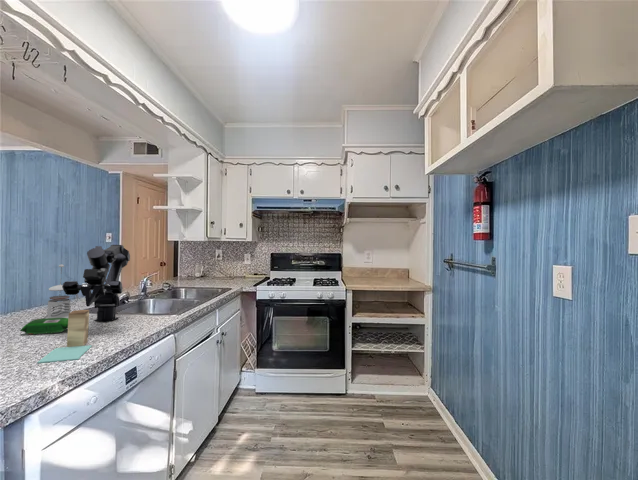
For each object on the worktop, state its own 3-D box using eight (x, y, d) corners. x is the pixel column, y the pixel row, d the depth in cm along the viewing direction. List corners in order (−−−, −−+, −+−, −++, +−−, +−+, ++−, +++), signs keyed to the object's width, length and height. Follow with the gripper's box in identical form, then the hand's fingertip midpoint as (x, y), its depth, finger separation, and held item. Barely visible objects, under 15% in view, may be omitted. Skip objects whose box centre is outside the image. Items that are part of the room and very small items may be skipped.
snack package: (69, 333, 113) (70, 320, 113) (18, 336, 107) (19, 322, 107) (77, 328, 119) (78, 316, 119) (29, 330, 114) (30, 317, 114)
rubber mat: (56, 349, 97) (56, 347, 97) (91, 346, 101) (91, 345, 101) (37, 363, 86) (37, 362, 86) (78, 359, 90) (78, 358, 90)
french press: (40, 317, 131) (43, 263, 131) (72, 313, 141) (75, 263, 141) (48, 321, 125) (51, 265, 126) (80, 316, 135) (83, 264, 136)
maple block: (72, 343, 103) (74, 310, 103) (87, 342, 104) (89, 309, 104) (66, 347, 98) (68, 313, 98) (82, 346, 100) (84, 312, 100)
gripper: (65, 260, 110) (50, 294, 100) (122, 261, 118) (113, 293, 107) (73, 278, 118) (59, 311, 107) (126, 278, 125) (117, 308, 114)
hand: (87, 305), depth 109 cm, fingers closed
